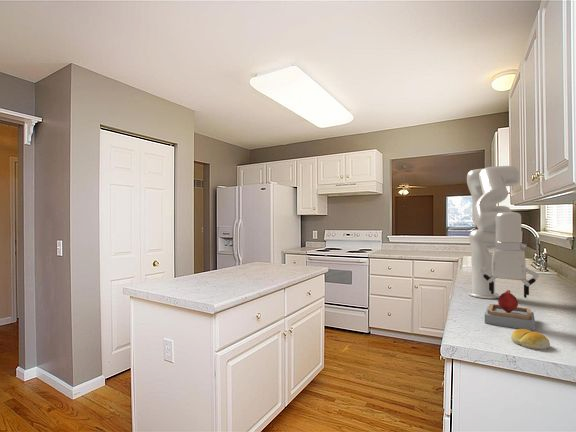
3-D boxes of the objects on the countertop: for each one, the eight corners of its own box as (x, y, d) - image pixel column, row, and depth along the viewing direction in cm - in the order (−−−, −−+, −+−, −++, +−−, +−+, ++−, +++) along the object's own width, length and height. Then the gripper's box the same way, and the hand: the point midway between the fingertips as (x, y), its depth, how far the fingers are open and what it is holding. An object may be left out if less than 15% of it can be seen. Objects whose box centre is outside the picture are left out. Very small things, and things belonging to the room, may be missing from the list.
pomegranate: (503, 314, 113) (503, 291, 113) (495, 310, 118) (494, 288, 119) (521, 315, 112) (521, 292, 112) (512, 310, 118) (512, 288, 118)
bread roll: (526, 337, 100) (525, 324, 100) (555, 349, 91) (555, 334, 91) (503, 339, 98) (503, 326, 98) (531, 351, 89) (531, 336, 89)
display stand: (487, 313, 125) (487, 302, 125) (533, 320, 116) (533, 308, 116) (484, 323, 113) (484, 311, 113) (535, 330, 105) (534, 317, 105)
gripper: (538, 247, 113) (538, 296, 114) (481, 244, 123) (481, 289, 124) (539, 249, 107) (539, 301, 108) (479, 246, 117) (479, 293, 118)
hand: (508, 294), depth 116 cm, fingers open, 9 cm apart
